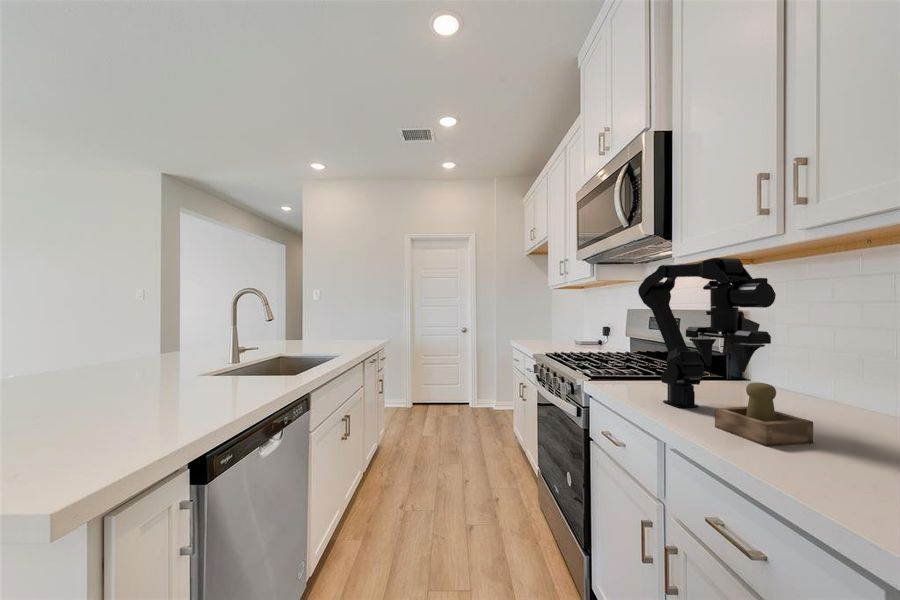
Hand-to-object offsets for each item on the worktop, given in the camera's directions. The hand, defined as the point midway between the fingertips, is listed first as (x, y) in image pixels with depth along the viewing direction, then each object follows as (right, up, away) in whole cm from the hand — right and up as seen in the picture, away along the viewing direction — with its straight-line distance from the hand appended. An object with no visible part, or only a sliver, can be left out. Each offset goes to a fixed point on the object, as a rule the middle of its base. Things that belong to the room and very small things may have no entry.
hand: (724, 368), depth 93 cm
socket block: (+1, -13, -10) cm, 16 cm away
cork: (+1, -13, -10) cm, 16 cm away
